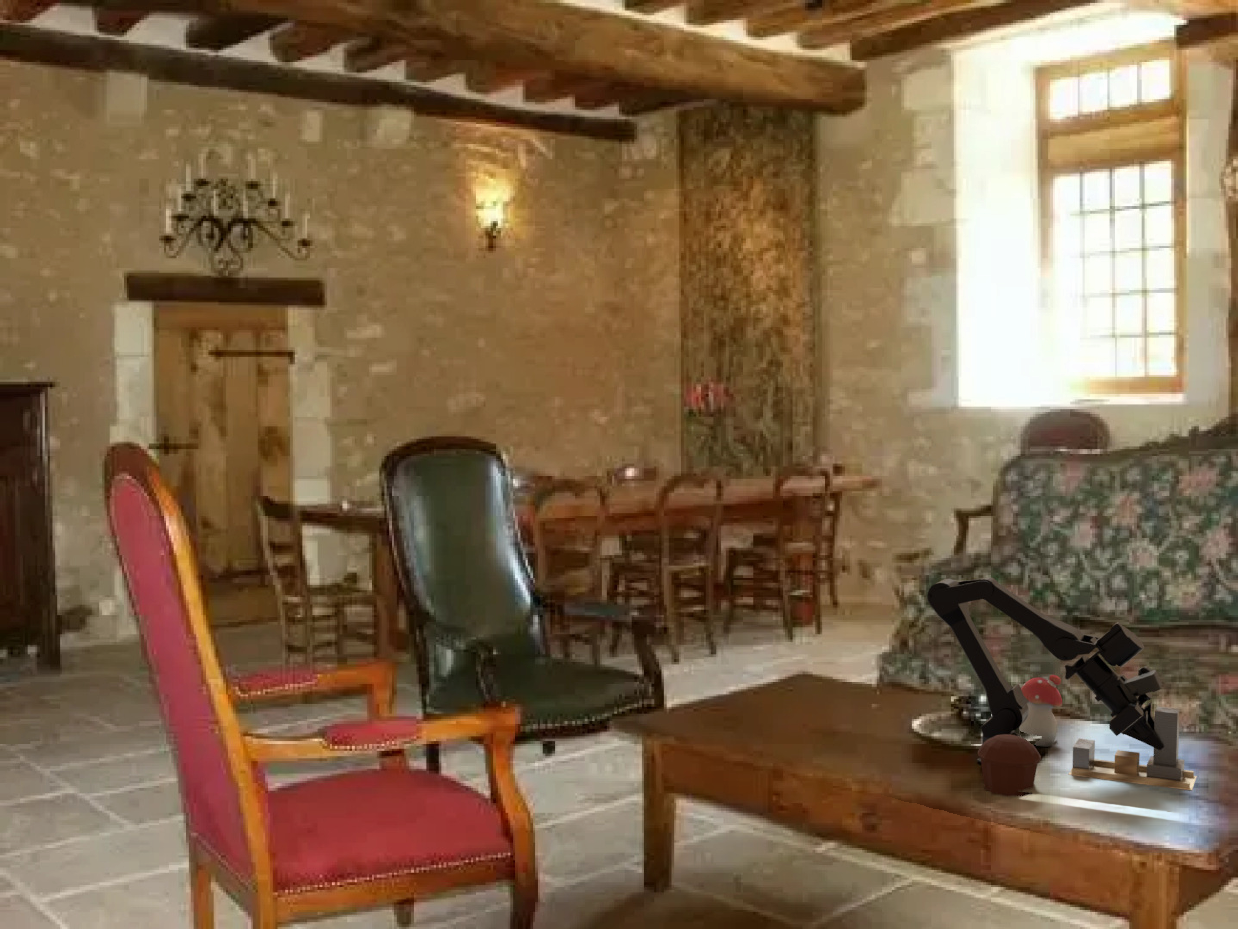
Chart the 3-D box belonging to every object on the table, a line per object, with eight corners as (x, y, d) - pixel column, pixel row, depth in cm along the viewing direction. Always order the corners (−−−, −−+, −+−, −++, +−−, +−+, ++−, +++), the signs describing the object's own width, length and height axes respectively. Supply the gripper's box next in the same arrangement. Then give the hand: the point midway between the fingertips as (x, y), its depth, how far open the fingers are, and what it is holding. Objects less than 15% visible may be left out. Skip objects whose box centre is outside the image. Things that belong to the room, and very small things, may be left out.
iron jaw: (1072, 772, 269) (1072, 747, 269) (1078, 763, 275) (1078, 738, 275) (1088, 774, 268) (1089, 749, 267) (1094, 765, 274) (1094, 740, 274)
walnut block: (1114, 775, 267) (1114, 755, 267) (1117, 770, 270) (1117, 750, 270) (1136, 778, 265) (1136, 757, 265) (1139, 773, 269) (1139, 752, 268)
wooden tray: (1068, 780, 268) (1068, 769, 268) (1076, 767, 277) (1077, 756, 277) (1191, 796, 258) (1192, 784, 258) (1196, 782, 267) (1196, 771, 267)
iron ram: (1146, 780, 263) (1148, 712, 262) (1150, 771, 269) (1152, 704, 268) (1180, 784, 260) (1182, 715, 260) (1184, 775, 266) (1185, 708, 265)
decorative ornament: (1066, 746, 293) (1068, 675, 292) (1046, 750, 289) (1047, 679, 288) (1031, 736, 300) (1032, 667, 299) (1010, 740, 297) (1012, 671, 296)
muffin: (1053, 792, 261) (1054, 739, 260) (1014, 802, 254) (1015, 748, 254) (1002, 777, 270) (1003, 726, 270) (963, 786, 264) (964, 734, 263)
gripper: (1129, 664, 257) (1192, 731, 253) (1141, 647, 274) (1201, 708, 270) (1084, 702, 262) (1145, 768, 257) (1098, 682, 278) (1156, 744, 274)
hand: (1163, 745), depth 264 cm, fingers closed on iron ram, 4 cm apart
